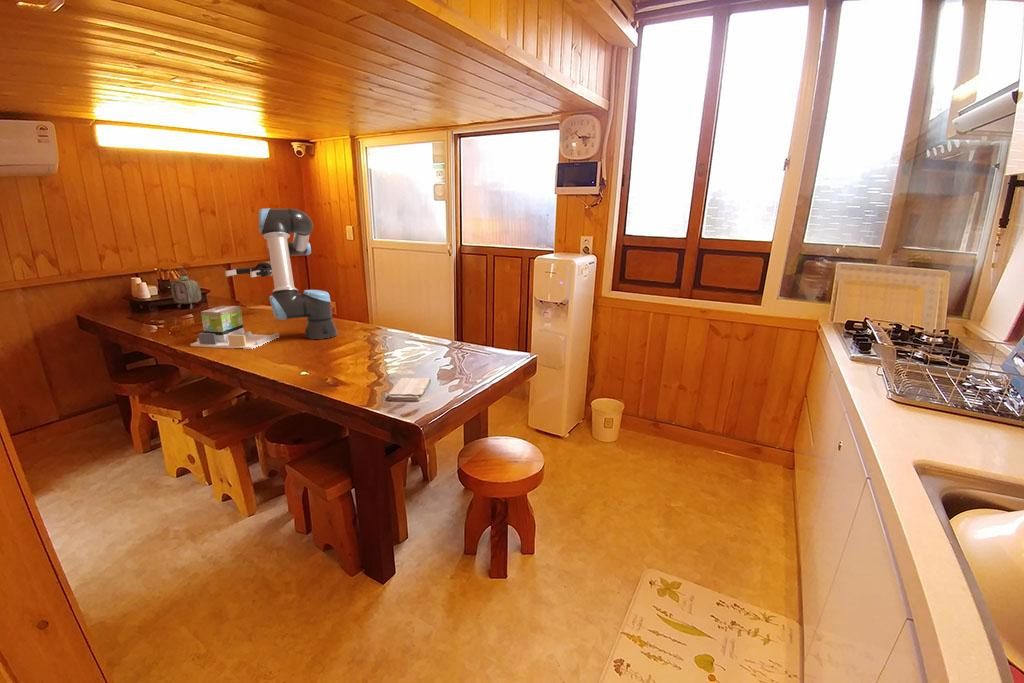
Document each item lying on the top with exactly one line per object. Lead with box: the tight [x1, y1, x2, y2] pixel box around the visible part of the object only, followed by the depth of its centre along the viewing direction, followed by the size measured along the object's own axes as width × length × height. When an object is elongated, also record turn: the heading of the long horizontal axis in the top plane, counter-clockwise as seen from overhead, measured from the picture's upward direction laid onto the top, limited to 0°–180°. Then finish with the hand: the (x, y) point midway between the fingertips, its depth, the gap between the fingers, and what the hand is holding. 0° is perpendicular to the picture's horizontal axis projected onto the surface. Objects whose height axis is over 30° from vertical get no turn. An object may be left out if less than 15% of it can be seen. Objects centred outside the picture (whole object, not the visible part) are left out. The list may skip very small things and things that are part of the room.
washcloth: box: [387, 377, 432, 402], centre depth 159 cm, size 12×18×3 cm, turn 179°
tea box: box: [200, 305, 245, 342], centre depth 215 cm, size 15×10×15 cm, turn 177°
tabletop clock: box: [169, 268, 202, 310], centre depth 282 cm, size 14×9×25 cm, turn 72°
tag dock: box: [190, 331, 280, 350], centre depth 214 cm, size 31×20×6 cm, turn 83°
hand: (238, 274), depth 224 cm, fingers open, 13 cm apart
